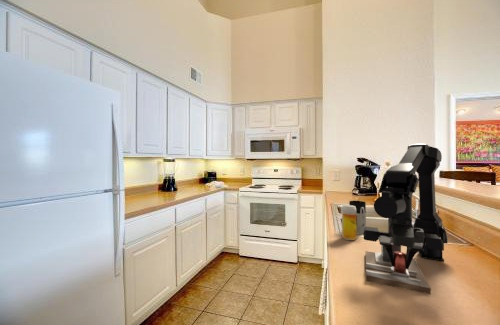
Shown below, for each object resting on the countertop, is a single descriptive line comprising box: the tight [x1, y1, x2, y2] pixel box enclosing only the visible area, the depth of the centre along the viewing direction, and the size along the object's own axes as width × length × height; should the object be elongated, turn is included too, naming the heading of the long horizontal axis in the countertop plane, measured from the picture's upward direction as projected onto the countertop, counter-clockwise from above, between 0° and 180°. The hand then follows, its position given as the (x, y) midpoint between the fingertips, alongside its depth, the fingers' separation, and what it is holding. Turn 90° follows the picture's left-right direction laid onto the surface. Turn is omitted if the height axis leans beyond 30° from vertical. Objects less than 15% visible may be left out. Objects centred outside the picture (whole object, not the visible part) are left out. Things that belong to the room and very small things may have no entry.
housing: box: [380, 240, 402, 262], centre depth 76 cm, size 5×7×7 cm
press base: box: [364, 250, 432, 295], centre depth 72 cm, size 15×21×3 cm
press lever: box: [391, 251, 409, 278], centre depth 65 cm, size 4×4×7 cm
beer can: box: [341, 204, 357, 241], centre depth 103 cm, size 6×6×15 cm
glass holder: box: [348, 200, 367, 235], centre depth 112 cm, size 9×14×15 cm, turn 172°
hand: (399, 267), depth 65 cm, fingers closed on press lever, 3 cm apart
